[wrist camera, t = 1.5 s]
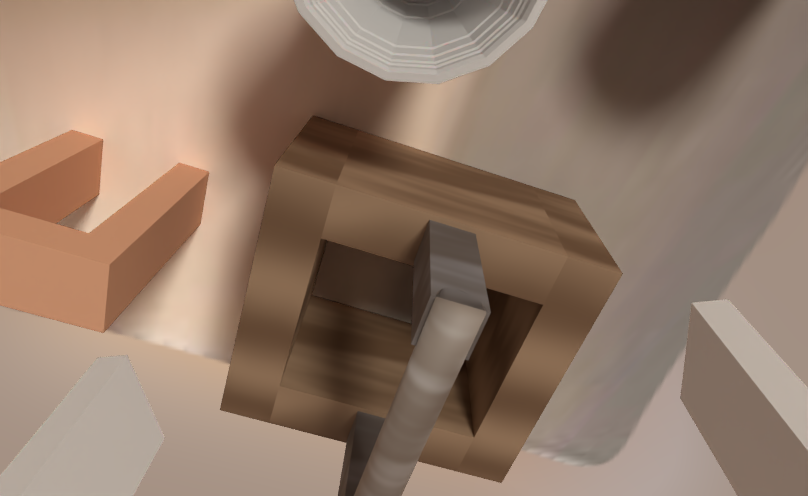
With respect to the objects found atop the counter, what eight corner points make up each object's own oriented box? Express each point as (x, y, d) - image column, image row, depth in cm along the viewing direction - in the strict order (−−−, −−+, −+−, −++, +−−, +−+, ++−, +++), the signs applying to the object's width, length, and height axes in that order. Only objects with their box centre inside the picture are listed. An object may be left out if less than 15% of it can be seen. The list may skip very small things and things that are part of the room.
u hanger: (71, 130, 36) (-98, 206, 24) (209, 172, 37) (109, 264, 25) (69, 185, 38) (-90, 281, 26) (200, 223, 39) (103, 333, 27)
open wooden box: (313, 115, 35) (216, 239, 19) (574, 200, 37) (690, 378, 21) (263, 316, 42) (163, 531, 26) (485, 378, 44) (521, 615, 28)
